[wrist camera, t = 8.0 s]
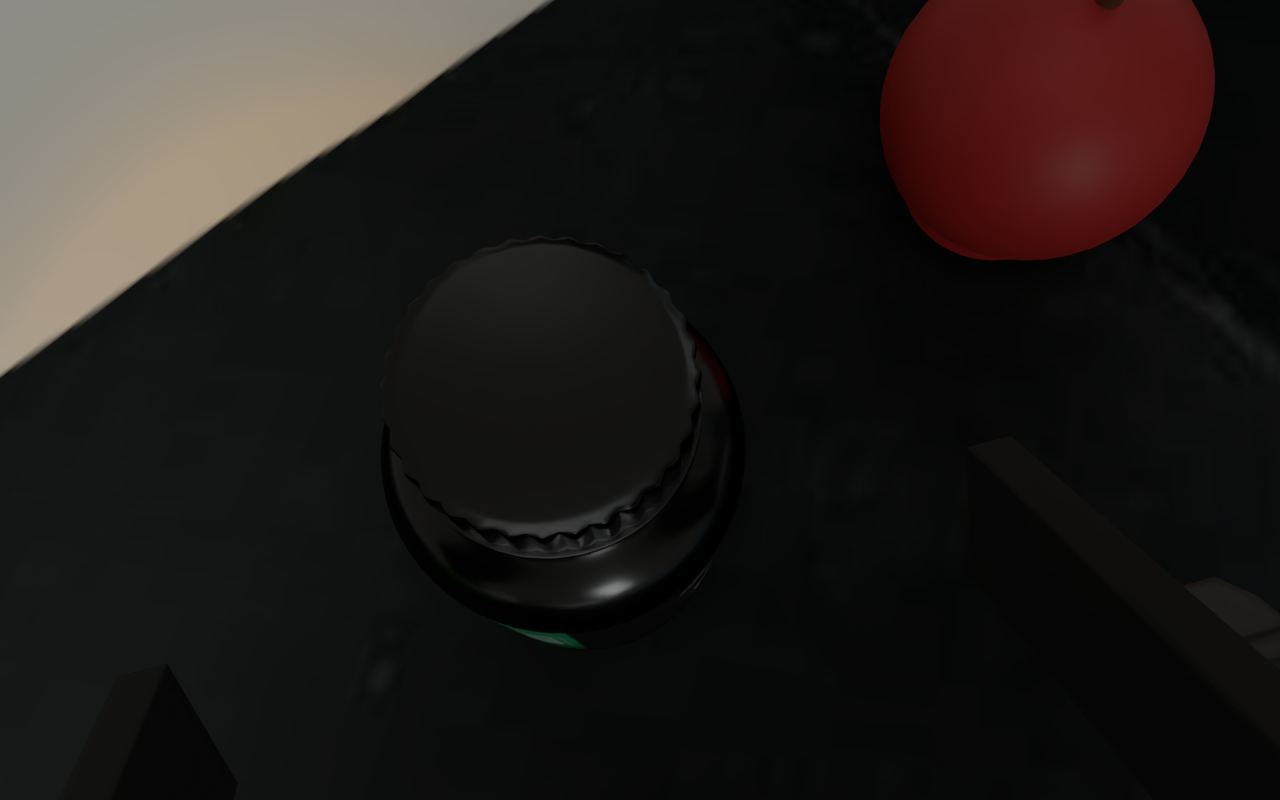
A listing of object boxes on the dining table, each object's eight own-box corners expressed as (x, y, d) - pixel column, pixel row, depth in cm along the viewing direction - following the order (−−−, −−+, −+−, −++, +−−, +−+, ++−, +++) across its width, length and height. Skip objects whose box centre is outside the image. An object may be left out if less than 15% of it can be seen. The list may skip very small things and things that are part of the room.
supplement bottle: (578, 708, 23) (508, 726, 12) (415, 512, 25) (216, 363, 13) (768, 530, 25) (870, 393, 13) (602, 356, 26) (565, 98, 15)
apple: (921, 38, 30) (1037, -237, 21) (1155, 148, 28) (1384, -97, 19) (805, 227, 27) (879, 10, 19) (1052, 355, 26) (1254, 186, 17)
